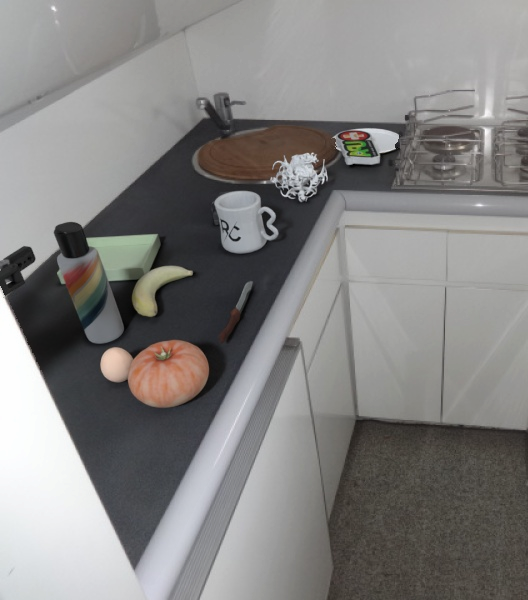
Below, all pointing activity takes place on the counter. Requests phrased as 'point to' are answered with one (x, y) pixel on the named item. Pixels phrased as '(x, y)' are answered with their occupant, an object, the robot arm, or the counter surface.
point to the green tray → (125, 255)
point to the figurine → (299, 175)
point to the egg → (116, 364)
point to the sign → (358, 147)
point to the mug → (243, 222)
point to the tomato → (168, 373)
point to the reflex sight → (215, 214)
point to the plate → (380, 139)
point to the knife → (236, 312)
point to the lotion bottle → (87, 284)
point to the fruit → (154, 287)
